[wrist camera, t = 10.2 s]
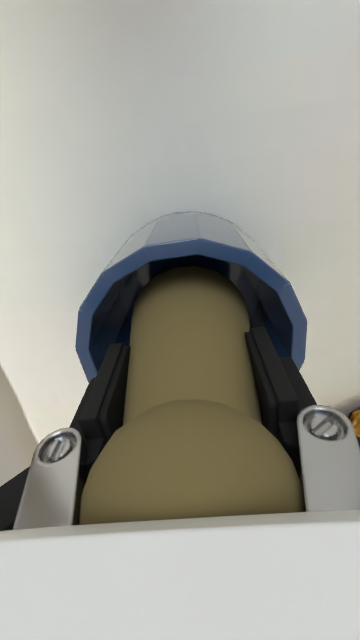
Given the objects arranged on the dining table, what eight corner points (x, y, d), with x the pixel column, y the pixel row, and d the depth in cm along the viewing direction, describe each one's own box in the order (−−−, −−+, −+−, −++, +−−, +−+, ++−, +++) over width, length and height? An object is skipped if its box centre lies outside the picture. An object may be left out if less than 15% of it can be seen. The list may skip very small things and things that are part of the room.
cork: (132, 365, 16) (54, 655, 7) (130, 261, 14) (-13, 506, 4) (238, 371, 16) (313, 668, 7) (258, 269, 14) (436, 531, 4)
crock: (94, 225, 17) (40, 261, 11) (265, 198, 16) (314, 220, 10) (132, 361, 21) (110, 440, 15) (267, 346, 20) (301, 424, 14)
